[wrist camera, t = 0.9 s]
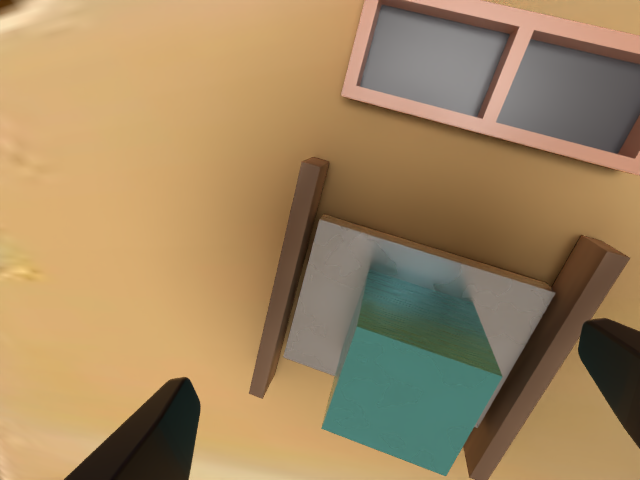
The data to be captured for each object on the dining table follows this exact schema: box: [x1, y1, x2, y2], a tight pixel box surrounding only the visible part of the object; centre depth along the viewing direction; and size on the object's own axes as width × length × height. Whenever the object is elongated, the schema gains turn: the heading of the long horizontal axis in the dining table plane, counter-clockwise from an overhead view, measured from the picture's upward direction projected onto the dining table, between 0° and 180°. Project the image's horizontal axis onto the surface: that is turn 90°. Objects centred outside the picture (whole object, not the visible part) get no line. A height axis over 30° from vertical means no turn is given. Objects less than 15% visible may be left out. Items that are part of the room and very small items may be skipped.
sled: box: [283, 214, 555, 476], centre depth 19 cm, size 13×10×7 cm
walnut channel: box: [249, 157, 630, 480], centre depth 21 cm, size 16×16×2 cm
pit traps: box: [341, 0, 640, 175], centre depth 16 cm, size 14×5×2 cm, turn 75°
